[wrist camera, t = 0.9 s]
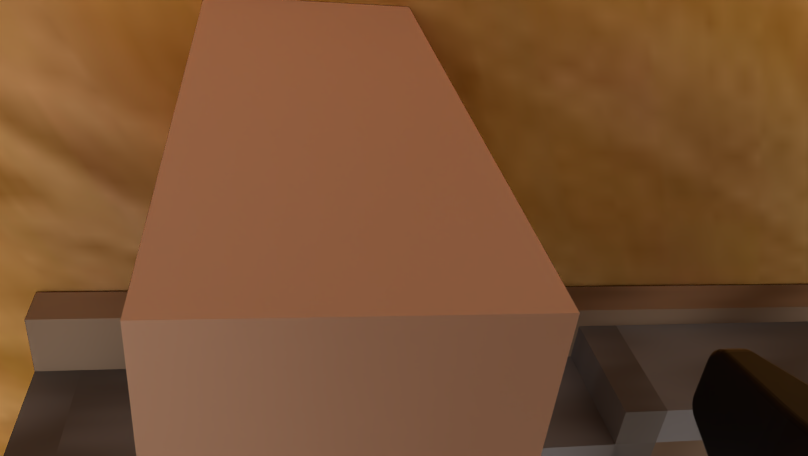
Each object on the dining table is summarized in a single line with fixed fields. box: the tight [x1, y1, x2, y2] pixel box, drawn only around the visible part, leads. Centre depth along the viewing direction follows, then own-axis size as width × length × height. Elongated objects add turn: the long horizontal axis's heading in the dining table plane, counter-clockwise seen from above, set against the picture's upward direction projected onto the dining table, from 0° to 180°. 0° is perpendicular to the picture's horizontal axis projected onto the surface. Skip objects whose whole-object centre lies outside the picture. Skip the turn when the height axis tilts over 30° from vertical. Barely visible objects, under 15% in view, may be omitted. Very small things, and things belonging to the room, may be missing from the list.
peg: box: [120, 0, 580, 456], centre depth 12 cm, size 4×4×10 cm
